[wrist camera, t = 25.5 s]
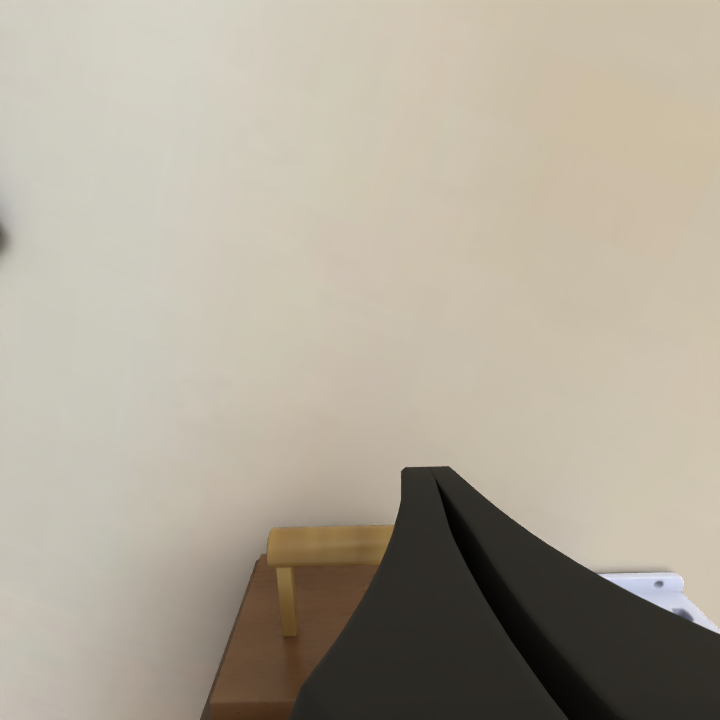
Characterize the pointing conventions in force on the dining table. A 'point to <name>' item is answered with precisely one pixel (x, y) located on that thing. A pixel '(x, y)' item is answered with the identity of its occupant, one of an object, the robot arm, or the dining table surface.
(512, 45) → the dining table surface
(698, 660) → the robot arm
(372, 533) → the drawer
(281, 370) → the dining table surface
